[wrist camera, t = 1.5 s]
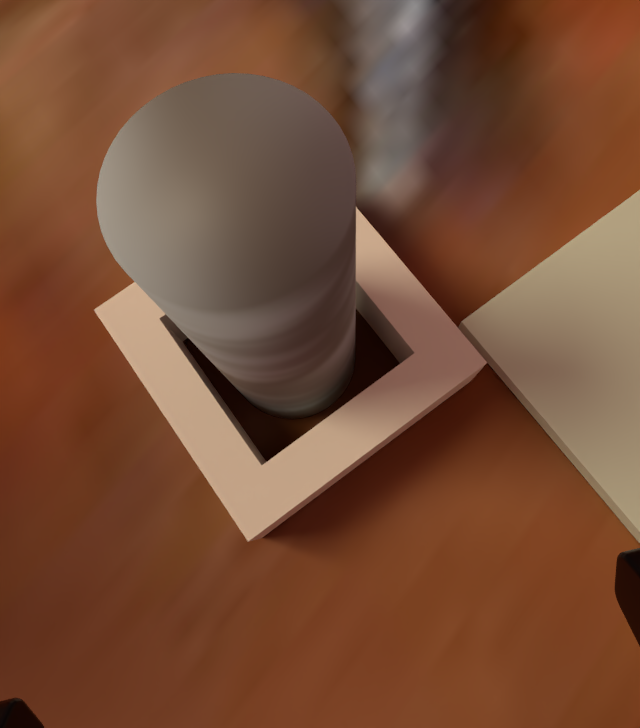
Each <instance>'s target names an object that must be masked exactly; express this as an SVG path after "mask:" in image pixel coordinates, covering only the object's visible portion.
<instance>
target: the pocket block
mask: <svg viewBox="0 0 640 728" xmlns="http://www.w3.org/2000/svg"><path fill="white" fill-rule="evenodd" d="M356 309H357V310H358V311H359V313H360V314H361V315H362V316H363V318H364V319H365V320H366V321H367V323H368V324H369V325H370V326H371V328H372V329H373V330H374V331H375V333H376V334H377V335H378V336H379V338H380V339H381V340H382V341H383V343H384V344H385V345H386V347H387V348H388V349H389V350H390V352H391V353H392V354H393V355H394V357H395V358H396V359H397V360H398V362H399V363H400V364H399V365H398V366H396V367H395V368H394V369H392V370H391V371H390V372H388V373H387V374H386V375H384V376H383V377H381V378H380V379H379V380H377V381H376V382H375V383H373V384H372V385H371V386H369V387H368V388H366V389H365V390H364V391H362V392H361V393H360V394H358V395H357V396H356V397H354V398H353V399H352V400H350V401H349V402H347V403H346V404H345V405H343V406H342V407H341V408H339V409H338V410H337V411H335V412H334V413H333V414H331V415H330V416H328V417H327V418H326V419H324V420H323V421H322V422H320V423H319V424H318V425H316V426H315V427H313V428H312V429H311V430H309V431H308V432H307V433H305V434H304V435H303V436H301V437H300V438H299V439H297V440H296V441H294V442H293V443H292V444H290V445H289V446H288V447H286V448H285V449H284V450H282V451H281V452H279V453H278V454H277V455H275V456H274V457H273V458H271V459H270V460H269V461H267V462H266V460H265V459H264V457H263V456H262V455H261V453H260V452H259V450H258V449H257V447H256V446H255V445H254V443H253V442H252V440H251V439H250V437H249V436H248V435H247V433H246V432H245V430H244V429H243V427H242V426H241V425H240V423H239V422H238V420H237V419H236V417H235V416H234V415H233V413H232V412H231V410H230V409H229V407H228V406H227V405H226V403H225V402H224V400H223V399H222V397H221V396H220V395H219V393H218V392H217V390H216V389H215V387H214V386H213V385H212V383H211V382H210V380H209V379H208V377H207V376H206V375H205V373H204V372H203V370H202V369H201V367H200V366H199V365H198V363H197V362H196V360H195V359H194V357H193V356H192V355H191V353H190V352H189V350H188V349H187V347H186V346H185V345H184V343H183V341H184V340H186V339H187V338H188V337H187V336H186V335H185V334H184V333H183V332H182V331H181V330H180V329H179V328H178V327H177V326H176V324H175V323H174V322H173V321H172V320H171V319H170V318H169V317H168V316H167V315H166V314H165V313H164V312H163V311H162V310H161V309H160V308H159V307H158V306H157V304H156V303H155V302H154V301H153V300H152V299H151V298H150V297H149V296H148V295H147V294H146V293H145V292H144V291H143V290H142V289H141V288H140V287H139V286H138V285H137V283H136V282H134V283H133V284H131V285H130V286H128V287H127V288H125V289H124V290H122V291H121V292H119V293H118V294H116V295H115V296H114V297H112V298H111V299H109V300H108V301H106V302H105V303H103V304H102V305H100V306H99V307H97V308H96V309H94V311H95V312H96V314H97V315H98V317H99V318H100V320H101V321H102V323H103V324H104V326H105V327H106V329H107V330H108V332H109V333H110V335H111V336H112V338H113V339H114V341H115V342H116V344H117V345H118V347H119V348H120V350H121V351H122V353H123V354H124V356H125V357H126V359H127V360H128V362H129V363H130V365H131V366H132V368H133V369H134V371H135V372H136V374H137V375H138V377H139V378H140V380H141V381H142V383H143V384H144V386H145V387H146V389H147V390H148V392H149V393H150V395H151V396H152V398H153V399H154V401H155V402H156V404H157V405H158V407H159V408H160V410H161V411H162V413H163V414H164V416H165V417H166V419H167V420H168V422H169V423H170V425H171V426H172V428H173V429H174V431H175V432H176V434H177V435H178V437H179V438H180V440H181V441H182V443H183V445H184V446H185V448H186V449H187V451H188V452H189V454H190V455H191V457H192V458H193V460H194V461H195V463H196V464H197V466H198V467H199V469H200V470H201V472H202V473H203V475H204V476H205V478H206V479H207V481H208V482H209V484H210V485H211V487H212V488H213V490H214V491H215V493H216V494H217V496H218V497H219V499H220V500H221V502H222V503H223V505H224V506H225V508H226V509H227V511H228V512H229V514H230V515H231V517H232V518H233V520H234V521H235V523H236V524H237V526H238V527H239V529H240V530H241V532H242V533H243V535H244V536H245V538H246V539H247V541H248V542H249V541H252V540H256V539H260V538H263V537H264V536H265V535H267V534H268V533H269V532H271V531H272V530H273V529H275V528H276V527H277V526H279V525H280V524H281V523H283V522H284V521H285V520H287V519H288V518H289V517H291V516H292V515H293V514H295V513H296V512H297V511H299V510H300V509H301V508H303V507H304V506H305V505H307V504H308V503H309V502H311V501H312V500H313V499H315V498H316V497H317V496H319V495H320V494H321V493H323V492H324V491H325V490H327V489H328V488H329V487H331V486H332V485H333V484H335V483H336V482H337V481H339V480H340V479H341V478H343V477H344V476H345V475H347V474H348V473H349V472H351V471H352V470H353V469H355V468H356V467H357V466H359V465H360V464H361V463H363V462H364V461H365V460H367V459H368V458H369V457H371V456H372V455H373V454H375V453H376V452H377V451H379V450H380V449H381V448H383V447H384V446H385V445H387V444H388V443H389V442H391V441H392V440H393V439H395V438H396V437H397V436H399V435H400V434H401V433H402V432H404V431H405V430H406V429H408V428H409V427H410V426H412V425H413V424H414V423H416V422H417V421H418V420H420V419H421V418H422V417H424V416H425V415H426V414H428V413H429V412H430V411H432V410H433V409H434V408H436V407H437V406H438V405H440V404H441V403H442V402H444V401H445V400H446V399H448V398H449V397H450V396H452V395H453V394H454V393H456V392H457V391H458V390H460V389H461V388H462V387H464V386H465V385H466V384H468V383H469V382H470V381H471V380H472V379H473V378H474V377H475V376H476V375H477V374H478V372H479V371H480V370H481V369H482V368H483V367H484V366H485V365H486V363H487V362H486V361H485V359H484V358H483V357H482V356H481V355H480V353H479V352H478V351H477V350H476V349H475V348H474V346H473V345H472V344H471V343H470V342H469V340H468V339H467V338H466V337H465V336H464V334H463V333H462V332H461V331H460V330H459V329H458V327H457V326H456V325H455V324H454V323H453V321H452V320H451V319H450V318H449V317H448V315H447V314H446V313H445V312H444V311H443V310H442V308H441V307H440V306H439V305H438V304H437V302H436V301H435V300H434V299H433V298H432V296H431V295H430V294H429V293H428V292H427V291H426V289H425V288H424V287H423V286H422V285H421V283H420V282H419V281H418V280H417V279H416V277H415V276H414V275H413V274H412V273H411V272H410V270H409V269H408V268H407V267H406V266H405V264H404V263H403V262H402V261H401V260H400V258H399V257H398V256H397V255H396V254H395V253H394V251H393V250H392V249H391V248H390V247H389V245H388V244H387V243H386V242H385V241H384V239H383V238H382V237H381V236H380V235H379V234H378V232H377V231H376V230H375V229H374V228H373V226H372V225H371V224H370V223H369V222H368V220H367V219H366V218H365V217H364V216H363V215H362V213H361V212H360V211H359V210H358V209H357V207H356Z"/></svg>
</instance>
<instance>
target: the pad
mask: <svg viewBox="0 0 640 728" xmlns="http://www.w3.org/2000/svg"><path fill="white" fill-rule="evenodd" d="M458 328H459V330H460V331H461V332H462V333H463V334H464V335H465V337H466V338H467V339H468V340H469V341H470V343H471V344H472V345H473V346H474V347H475V348H476V350H477V351H478V352H479V353H480V354H481V356H482V357H483V358H484V359H485V360H486V362H487V363H488V364H489V365H490V366H491V367H492V369H493V370H494V371H495V372H496V373H497V375H498V376H499V377H500V378H501V379H502V381H503V382H504V383H505V384H506V385H507V386H508V388H509V389H510V390H511V391H512V392H513V394H514V395H515V396H516V397H517V398H518V400H519V401H520V402H521V403H522V404H523V405H524V407H525V408H526V409H527V410H528V411H529V413H530V414H531V415H532V416H533V417H534V419H535V420H536V421H537V422H538V423H539V424H540V426H541V427H542V428H543V429H544V430H545V432H546V433H547V434H548V435H549V436H550V438H551V439H552V440H553V441H554V442H555V443H556V445H557V446H558V447H559V448H560V449H561V451H562V452H563V453H564V454H565V455H566V457H567V458H568V459H569V460H570V461H571V462H572V464H573V465H574V466H575V467H576V468H577V470H578V471H579V472H580V473H581V474H582V476H583V477H584V478H585V479H586V480H587V481H588V483H589V484H590V485H591V486H592V487H593V489H594V490H595V491H596V492H597V493H598V495H599V496H600V497H601V498H602V499H603V500H604V502H605V503H606V504H607V505H608V506H609V508H610V509H611V510H612V511H613V512H614V513H615V515H616V516H617V517H618V518H619V519H620V521H621V522H622V523H623V524H624V525H625V527H626V528H627V529H628V530H629V531H630V532H631V534H632V535H633V536H634V537H635V538H636V540H637V541H638V542H639V543H640V190H639V191H638V192H636V193H635V194H634V195H632V196H631V197H630V198H628V199H627V200H626V201H624V202H623V203H622V204H620V205H619V206H617V207H616V208H615V209H613V210H612V211H611V212H609V213H608V214H607V215H605V216H604V217H602V218H601V219H600V220H598V221H597V222H596V223H594V224H593V225H592V226H590V227H589V228H588V229H586V230H585V231H583V232H582V233H581V234H579V235H578V236H577V237H575V238H574V239H573V240H571V241H570V242H569V243H567V244H566V245H564V246H563V247H562V248H560V249H559V250H558V251H556V252H555V253H554V254H552V255H551V256H550V257H548V258H547V259H545V260H544V261H543V262H541V263H540V264H539V265H537V266H536V267H535V268H533V269H532V270H531V271H529V272H528V273H526V274H525V275H524V276H522V277H521V278H520V279H518V280H517V281H516V282H514V283H513V284H511V285H510V286H509V287H507V288H506V289H505V290H503V291H502V292H501V293H499V294H498V295H497V296H495V297H494V298H492V299H491V300H490V301H488V302H487V303H486V304H484V305H483V306H482V307H480V308H479V309H478V310H476V311H475V312H473V313H472V314H471V315H469V316H468V317H467V318H465V319H464V320H463V321H461V323H460V325H459V327H458Z"/></svg>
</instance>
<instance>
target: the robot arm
mask: <svg viewBox="0 0 640 728" xmlns="http://www.w3.org/2000/svg"><path fill="white" fill-rule="evenodd" d="M615 594H616V598H617V601H618V603H619V605H620V608H621V610H622V612H623V614H624V616H625V618H626V620H627V622H628V624H629V626H630V628H631V630H632V632H633V634H634V636H635V638H636V640H637V642H638V644H639V646H640V548H638V549H633V550H629V551H625V552H622V553H620V554H619V555H618V557H617V565H616V577H615ZM0 728H44V726H43V724H42V723H41V722H40V720H39V719H38V718H37V717H36V715H35V714H34V713H33V712H32V711H31V709H30V708H29V707H28V706H27V704H26V703H25V702H24V701H23V700H22V699H19V698H12V699H8V700H4V701H0Z"/></svg>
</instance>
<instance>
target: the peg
mask: <svg viewBox="0 0 640 728" xmlns="http://www.w3.org/2000/svg"><path fill="white" fill-rule="evenodd" d="M96 202H97V213H98V219H99V224H100V228H101V232H102V234H103V237H104V239H105V242H106V244H107V246H108V248H109V250H110V251H111V253H112V255H113V256H114V258H115V260H116V261H117V262H118V263H119V265H120V266H121V267H122V268H123V270H124V271H125V272H126V273H127V274H128V275H129V276H130V277H131V278H132V279H133V280H134V281H135V282H136V283H137V285H138V286H139V287H140V288H141V289H142V290H143V291H144V292H145V293H146V294H147V295H148V296H149V297H150V298H151V299H152V300H153V301H154V302H155V303H156V304H157V306H158V307H159V308H160V309H161V310H162V311H163V312H164V313H165V314H166V315H167V316H168V317H169V318H170V319H171V320H172V321H173V322H174V323H175V324H176V326H177V327H178V328H179V329H180V330H181V331H182V332H183V333H184V334H185V335H186V336H187V337H188V338H189V339H190V340H191V341H192V342H193V343H194V344H195V345H196V347H197V348H198V349H199V350H200V351H201V352H202V353H203V354H204V355H205V356H206V357H207V358H208V359H209V360H210V361H211V362H212V363H213V364H214V365H215V367H216V368H217V369H218V370H219V371H220V372H221V373H222V374H223V375H224V376H225V377H226V378H227V379H228V380H229V381H230V382H231V383H232V384H233V385H234V386H235V388H236V389H237V390H238V391H239V392H240V393H241V394H242V395H243V396H244V397H245V398H246V399H247V400H248V401H249V402H250V403H251V404H252V405H253V406H255V407H256V408H258V409H259V410H261V411H263V412H265V413H267V414H269V415H272V416H275V417H280V418H287V419H297V418H304V417H309V416H312V415H315V414H317V413H319V412H321V411H323V410H325V409H326V408H328V407H330V406H331V405H332V404H333V403H334V402H336V401H337V400H338V399H339V397H340V396H341V395H342V394H343V393H344V391H345V390H346V388H347V386H348V384H349V383H350V380H351V378H352V375H353V371H354V367H355V324H356V174H355V165H354V161H353V156H352V152H351V150H350V147H349V144H348V141H347V139H346V137H345V135H344V134H343V132H342V130H341V128H340V126H339V125H338V124H337V122H336V121H335V120H334V118H333V117H332V116H331V114H330V113H329V112H328V111H327V110H326V109H325V108H324V107H323V106H322V105H321V104H320V103H319V102H317V101H316V100H315V99H313V98H312V97H311V96H309V95H308V94H306V93H305V92H303V91H301V90H299V89H298V88H296V87H294V86H292V85H289V84H287V83H284V82H282V81H280V80H276V79H272V78H269V77H265V76H259V75H253V74H238V73H230V74H217V75H212V76H206V77H201V78H198V79H194V80H191V81H188V82H185V83H182V84H180V85H178V86H175V87H173V88H171V89H169V90H167V91H165V92H164V93H162V94H160V95H158V96H157V97H155V98H154V99H152V100H151V101H150V102H148V103H147V104H146V105H144V106H143V107H142V108H141V109H140V110H139V111H137V112H136V113H135V114H134V115H133V116H132V117H131V118H130V119H129V120H128V122H127V123H126V124H125V125H124V126H123V127H122V129H121V130H120V131H119V133H118V134H117V136H116V137H115V139H114V140H113V142H112V144H111V146H110V148H109V150H108V152H107V154H106V156H105V159H104V162H103V165H102V167H101V170H100V175H99V180H98V185H97V200H96Z"/></svg>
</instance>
